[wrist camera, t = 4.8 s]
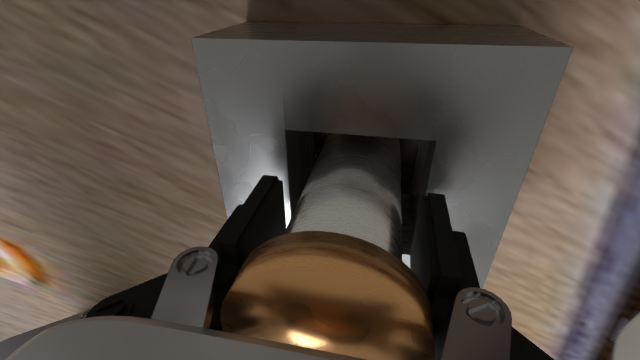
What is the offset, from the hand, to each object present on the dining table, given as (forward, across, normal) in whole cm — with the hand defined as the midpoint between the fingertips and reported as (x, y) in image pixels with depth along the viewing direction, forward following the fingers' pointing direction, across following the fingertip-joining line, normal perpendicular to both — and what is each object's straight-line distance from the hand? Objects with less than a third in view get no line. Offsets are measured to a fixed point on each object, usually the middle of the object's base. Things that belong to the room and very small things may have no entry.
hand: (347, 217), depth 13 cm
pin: (+6, 0, 0) cm, 6 cm away
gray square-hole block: (+6, 0, 0) cm, 6 cm away
